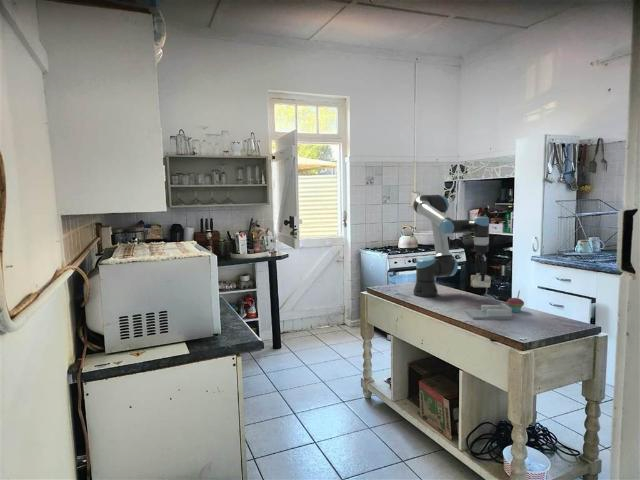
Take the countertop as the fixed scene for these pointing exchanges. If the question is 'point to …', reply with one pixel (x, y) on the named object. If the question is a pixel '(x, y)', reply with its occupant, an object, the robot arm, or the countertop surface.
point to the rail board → (484, 315)
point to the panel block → (476, 279)
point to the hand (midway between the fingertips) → (480, 285)
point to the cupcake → (515, 303)
